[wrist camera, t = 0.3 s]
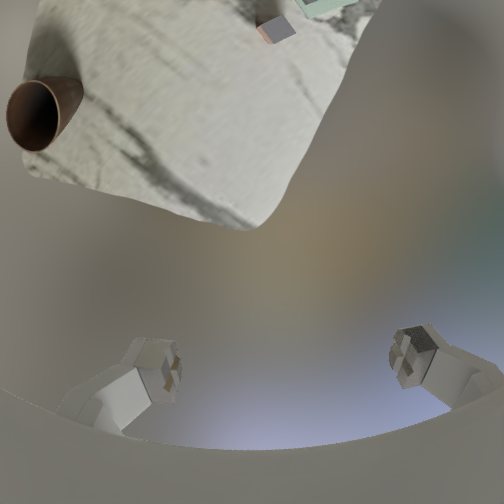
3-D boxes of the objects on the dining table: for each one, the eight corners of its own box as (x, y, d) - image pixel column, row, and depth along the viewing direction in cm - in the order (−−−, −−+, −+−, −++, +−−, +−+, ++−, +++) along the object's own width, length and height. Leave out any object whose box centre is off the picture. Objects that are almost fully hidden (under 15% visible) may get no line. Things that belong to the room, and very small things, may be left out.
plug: (256, 28, 38) (260, 25, 30) (274, 19, 36) (282, 14, 29) (267, 43, 40) (274, 43, 32) (285, 34, 39) (296, 33, 31)
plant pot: (108, 102, 46) (72, 126, 34) (65, 134, 49) (28, 165, 37) (81, 52, 36) (37, 64, 24) (39, 89, 39) (-3, 112, 27)
